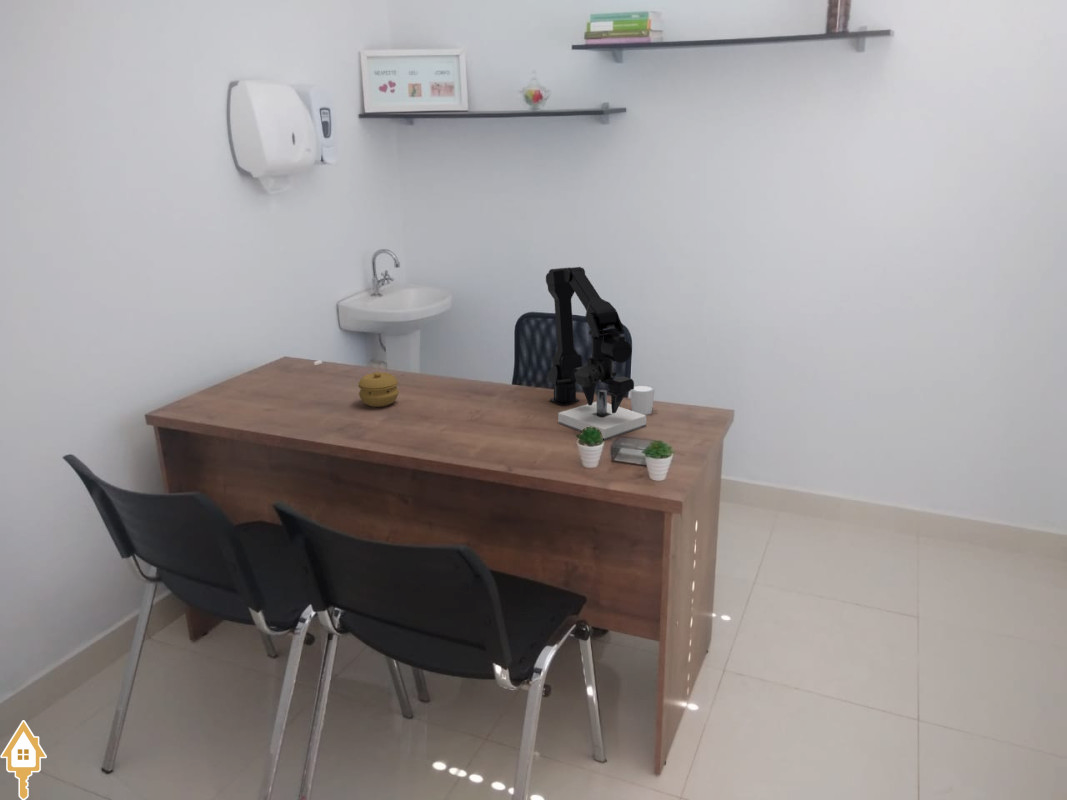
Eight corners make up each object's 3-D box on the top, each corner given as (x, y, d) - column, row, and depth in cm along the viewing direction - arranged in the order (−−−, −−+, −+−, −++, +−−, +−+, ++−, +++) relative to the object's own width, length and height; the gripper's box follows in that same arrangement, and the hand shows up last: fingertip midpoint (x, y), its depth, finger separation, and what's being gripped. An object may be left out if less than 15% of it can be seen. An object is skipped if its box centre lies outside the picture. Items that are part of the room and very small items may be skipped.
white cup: (648, 417, 232) (648, 393, 230) (625, 413, 235) (626, 389, 233) (657, 410, 237) (658, 386, 235) (635, 406, 241) (636, 383, 239)
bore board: (558, 423, 228) (558, 412, 227) (599, 410, 238) (599, 400, 237) (604, 440, 215) (604, 429, 214) (646, 425, 225) (646, 415, 224)
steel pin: (594, 422, 227) (594, 391, 224) (601, 420, 228) (601, 389, 226) (601, 425, 225) (601, 393, 222) (608, 422, 226) (609, 391, 224)
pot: (352, 408, 244) (349, 376, 241) (372, 396, 254) (369, 365, 251) (387, 412, 240) (385, 379, 237) (406, 400, 251) (404, 368, 248)
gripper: (556, 352, 222) (557, 407, 227) (605, 366, 209) (605, 424, 214) (586, 345, 229) (586, 398, 234) (636, 358, 215) (634, 414, 220)
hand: (601, 409), depth 225 cm, fingers open, 9 cm apart
